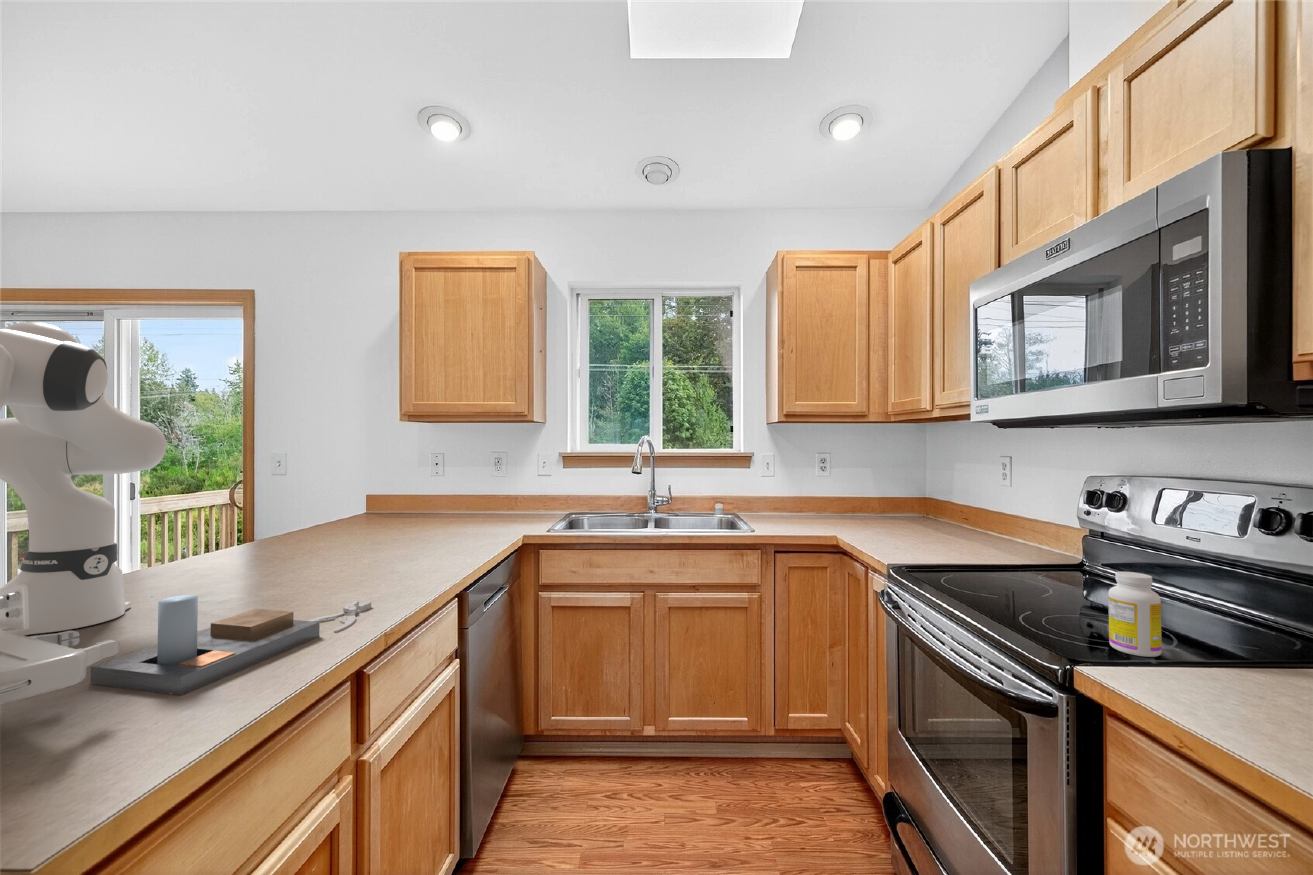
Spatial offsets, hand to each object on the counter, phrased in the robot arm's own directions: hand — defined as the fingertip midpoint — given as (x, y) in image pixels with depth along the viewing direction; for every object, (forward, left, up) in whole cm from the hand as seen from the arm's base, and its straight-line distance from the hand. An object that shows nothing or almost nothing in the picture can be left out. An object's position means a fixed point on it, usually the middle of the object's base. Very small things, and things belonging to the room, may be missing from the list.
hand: (96, 641), depth 71 cm
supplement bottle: (+148, +50, -8) cm, 157 cm away
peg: (+1, +9, -8) cm, 12 cm away
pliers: (+5, +36, -8) cm, 37 cm away
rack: (+1, +15, -8) cm, 17 cm away
